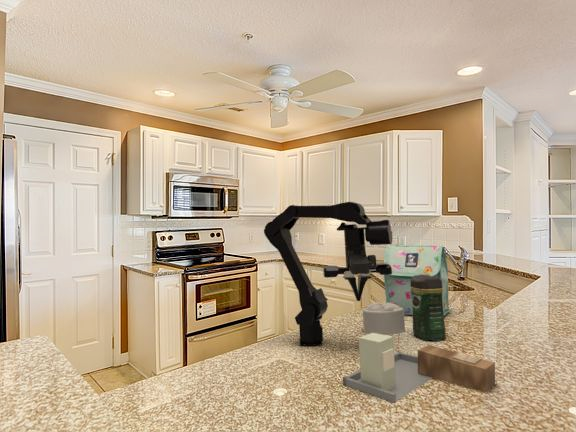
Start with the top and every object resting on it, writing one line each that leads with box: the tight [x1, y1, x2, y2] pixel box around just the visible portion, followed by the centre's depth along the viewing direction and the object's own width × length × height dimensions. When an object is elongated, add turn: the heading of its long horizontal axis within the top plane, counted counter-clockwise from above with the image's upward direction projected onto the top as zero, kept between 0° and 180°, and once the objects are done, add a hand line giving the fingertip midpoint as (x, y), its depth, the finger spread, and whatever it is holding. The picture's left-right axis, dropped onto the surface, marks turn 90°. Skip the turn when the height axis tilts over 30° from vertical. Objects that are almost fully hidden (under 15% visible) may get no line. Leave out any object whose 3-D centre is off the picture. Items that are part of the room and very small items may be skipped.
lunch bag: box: [383, 244, 451, 317], centre depth 141 cm, size 23×16×27 cm
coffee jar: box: [410, 275, 447, 342], centre depth 109 cm, size 10×8×19 cm
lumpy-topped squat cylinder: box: [362, 301, 406, 336], centre depth 118 cm, size 10×13×9 cm
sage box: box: [358, 333, 396, 391], centre depth 74 cm, size 5×5×10 cm
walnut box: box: [417, 344, 496, 393], centre depth 76 cm, size 5×5×14 cm
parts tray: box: [342, 351, 433, 404], centre depth 78 cm, size 12×22×2 cm, turn 132°
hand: (358, 300), depth 102 cm, fingers closed
